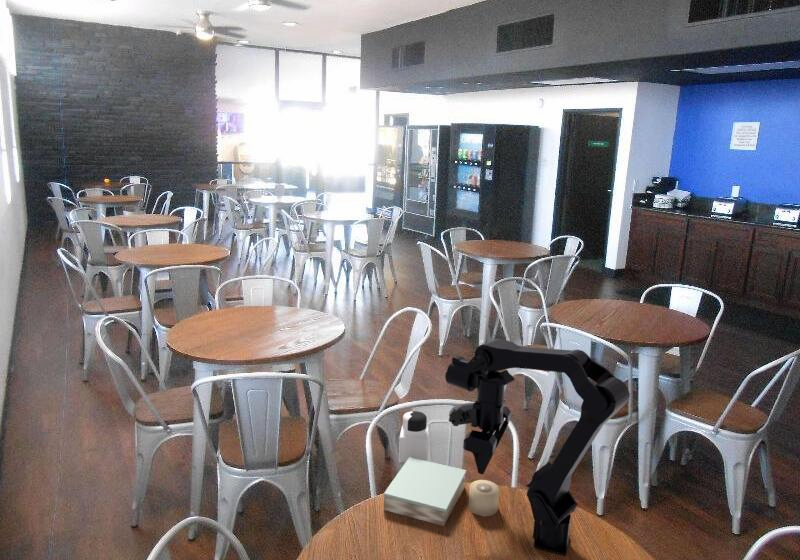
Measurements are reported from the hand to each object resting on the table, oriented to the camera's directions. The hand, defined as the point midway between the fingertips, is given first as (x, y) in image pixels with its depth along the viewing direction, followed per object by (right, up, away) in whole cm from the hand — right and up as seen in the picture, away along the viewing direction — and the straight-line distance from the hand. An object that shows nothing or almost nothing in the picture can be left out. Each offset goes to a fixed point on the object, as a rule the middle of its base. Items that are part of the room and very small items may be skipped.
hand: (486, 463), depth 130 cm
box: (-13, -10, +5) cm, 17 cm away
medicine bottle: (-15, -6, +23) cm, 28 cm away
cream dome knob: (0, -11, +3) cm, 11 cm away
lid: (-13, -6, +5) cm, 15 cm away
